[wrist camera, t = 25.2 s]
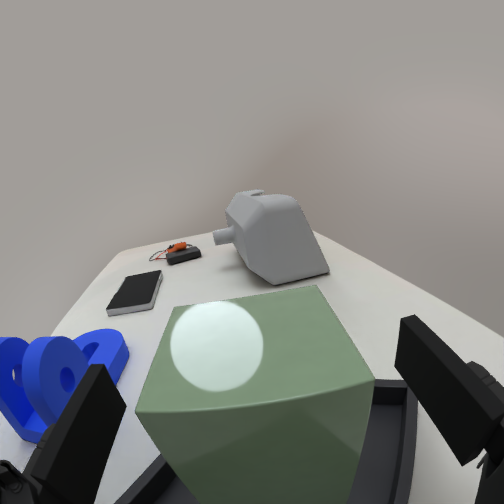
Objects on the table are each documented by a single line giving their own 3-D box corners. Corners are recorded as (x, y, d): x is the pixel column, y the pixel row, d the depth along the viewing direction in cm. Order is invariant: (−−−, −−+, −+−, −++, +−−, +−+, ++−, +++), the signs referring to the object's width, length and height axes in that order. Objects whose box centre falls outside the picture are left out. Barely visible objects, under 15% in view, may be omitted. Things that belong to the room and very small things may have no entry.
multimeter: (149, 251, 76) (146, 239, 75) (191, 241, 79) (189, 229, 78) (149, 270, 59) (145, 255, 58) (202, 257, 63) (199, 242, 62)
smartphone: (104, 310, 40) (125, 276, 54) (106, 317, 40) (126, 282, 54) (151, 302, 41) (162, 269, 55) (153, 309, 41) (163, 275, 55)
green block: (230, 536, 9) (133, 411, 6) (229, 460, 15) (173, 306, 12) (341, 520, 9) (376, 378, 6) (320, 447, 15) (316, 284, 12)
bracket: (86, 455, 15) (25, 369, 13) (22, 439, 15) (-31, 362, 13) (136, 340, 33) (114, 273, 30) (84, 343, 32) (60, 282, 30)
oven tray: (106, 545, 8) (83, 532, 7) (240, 383, 24) (235, 362, 23) (348, 636, 1) (355, 642, 1) (411, 403, 17) (417, 379, 16)
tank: (214, 253, 64) (204, 198, 61) (283, 239, 67) (276, 185, 63) (229, 299, 41) (212, 212, 37) (332, 274, 43) (325, 193, 40)
